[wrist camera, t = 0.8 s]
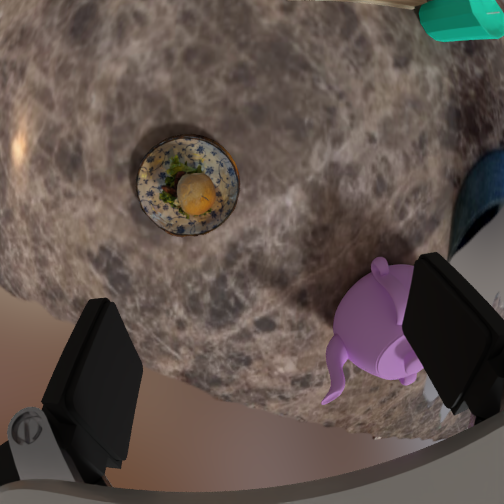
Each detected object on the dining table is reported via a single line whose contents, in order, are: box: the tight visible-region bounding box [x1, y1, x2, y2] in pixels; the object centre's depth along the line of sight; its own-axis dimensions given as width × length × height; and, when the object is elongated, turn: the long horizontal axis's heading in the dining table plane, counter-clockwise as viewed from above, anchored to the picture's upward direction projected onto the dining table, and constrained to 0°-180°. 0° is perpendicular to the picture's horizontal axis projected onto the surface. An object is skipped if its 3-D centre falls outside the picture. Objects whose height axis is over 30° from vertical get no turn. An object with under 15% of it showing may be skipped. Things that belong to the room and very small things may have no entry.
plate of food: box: [136, 134, 240, 237], centre depth 32 cm, size 12×12×8 cm
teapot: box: [321, 257, 424, 405], centre depth 40 cm, size 22×22×14 cm
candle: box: [419, 0, 504, 42], centre depth 21 cm, size 6×6×12 cm
